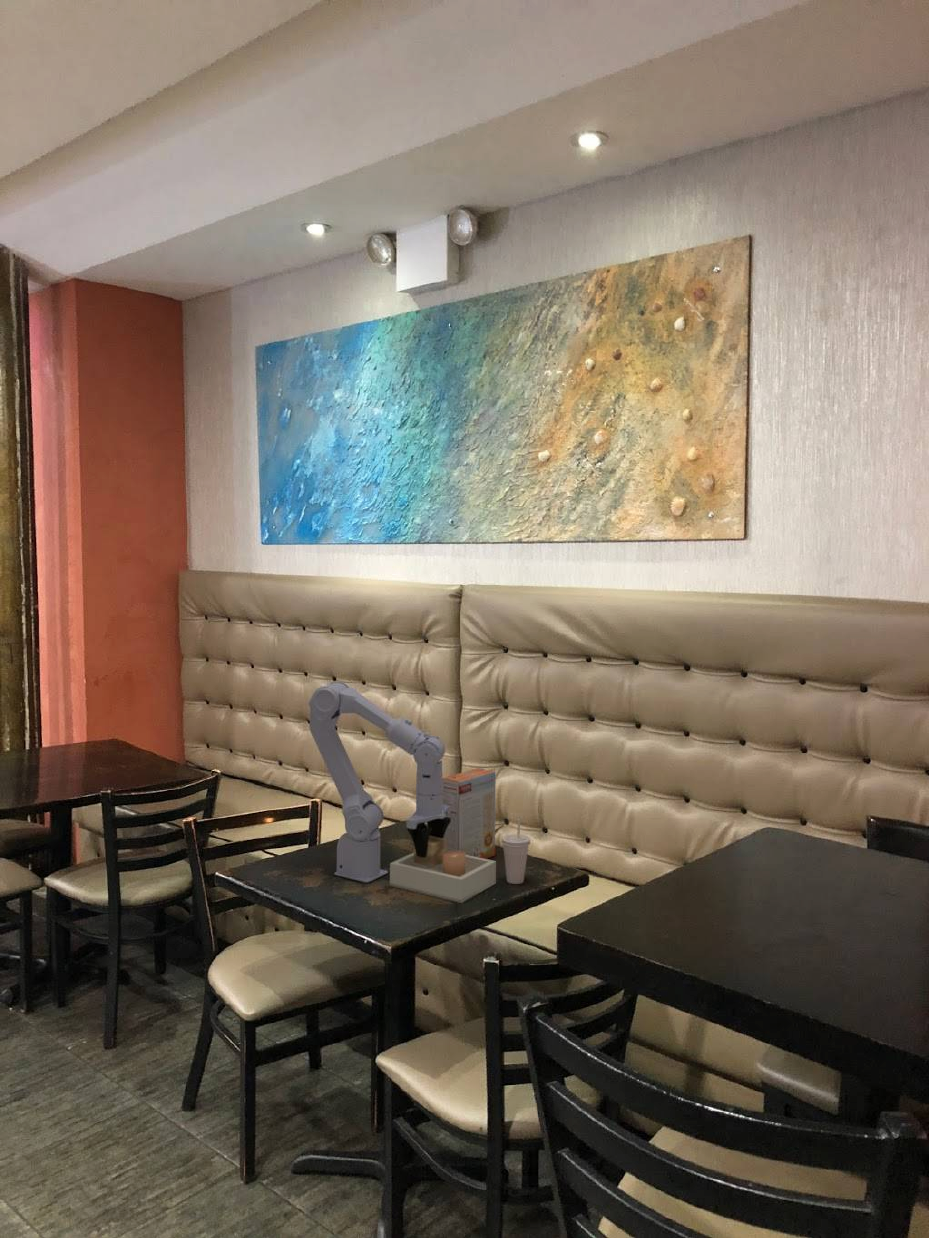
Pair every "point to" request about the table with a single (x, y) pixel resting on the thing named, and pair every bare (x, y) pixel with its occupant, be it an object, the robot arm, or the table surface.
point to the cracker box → (470, 812)
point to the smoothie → (515, 855)
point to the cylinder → (454, 862)
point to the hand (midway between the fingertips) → (428, 853)
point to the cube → (432, 852)
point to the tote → (443, 878)
